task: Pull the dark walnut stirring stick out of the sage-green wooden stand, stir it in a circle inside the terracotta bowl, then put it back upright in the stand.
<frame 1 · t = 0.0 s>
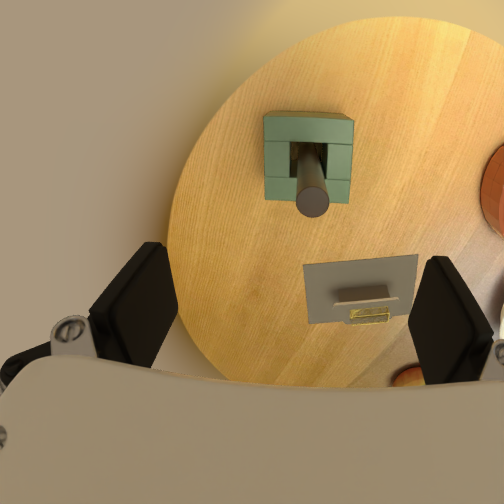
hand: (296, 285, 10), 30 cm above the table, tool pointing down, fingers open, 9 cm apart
apple: (411, 374, 55), on the table
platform: (362, 291, 46), on the table
stick: (308, 165, 28), in the stand
stand: (306, 146, 37), on the table
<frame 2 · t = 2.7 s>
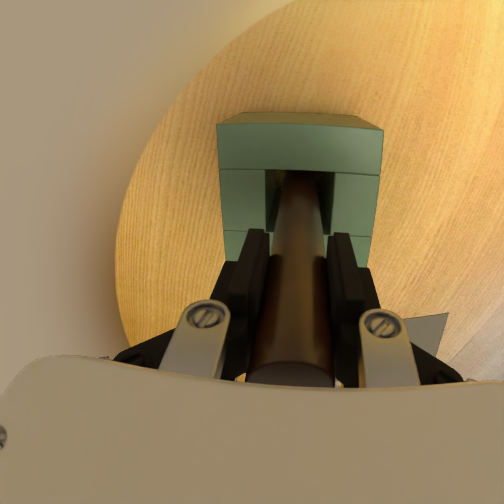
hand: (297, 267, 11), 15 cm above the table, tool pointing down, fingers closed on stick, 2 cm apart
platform: (370, 356, 34), on the table
stick: (299, 217, 15), in the stand, touching gripper
stand: (299, 167, 24), on the table
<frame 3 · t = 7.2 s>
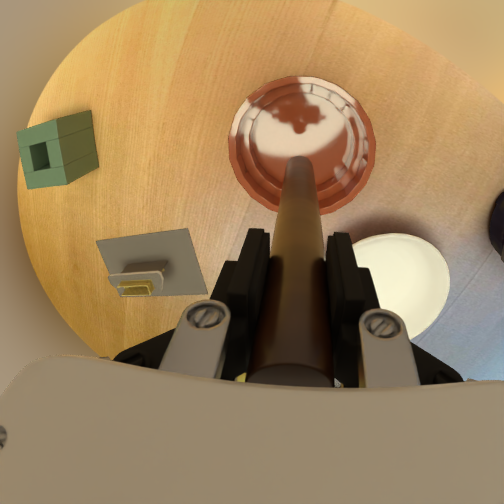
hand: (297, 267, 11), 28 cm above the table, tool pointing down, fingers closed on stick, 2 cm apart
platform: (149, 266, 49), on the table
mixing bowl: (302, 139, 36), on the table
bowl: (376, 273, 44), on the table
stick: (298, 218, 15), point 24 cm above the table, touching gripper
stand: (73, 142, 39), on the table
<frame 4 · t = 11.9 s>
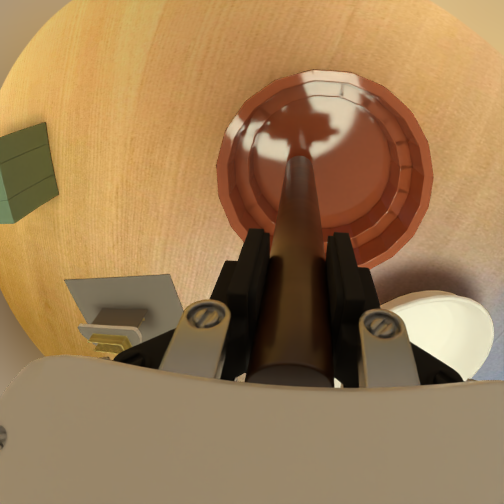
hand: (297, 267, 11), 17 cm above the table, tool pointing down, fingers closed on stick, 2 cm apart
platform: (127, 313, 39), on the table
mixing bowl: (323, 163, 25), on the table
bowl: (404, 327, 33), on the table
stick: (298, 219, 15), point 12 cm above the table, touching gripper
stand: (29, 163, 29), on the table
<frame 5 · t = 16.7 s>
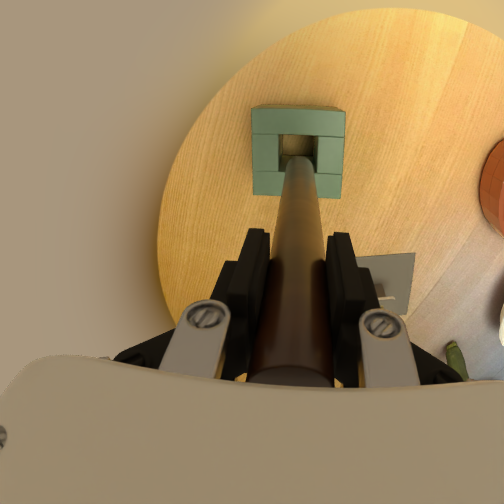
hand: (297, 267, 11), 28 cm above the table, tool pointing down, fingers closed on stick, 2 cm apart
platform: (356, 289, 45), on the table
vegetable: (447, 346, 49), on the table
stick: (298, 220, 15), point 24 cm above the table, touching gripper
stand: (298, 140, 36), on the table
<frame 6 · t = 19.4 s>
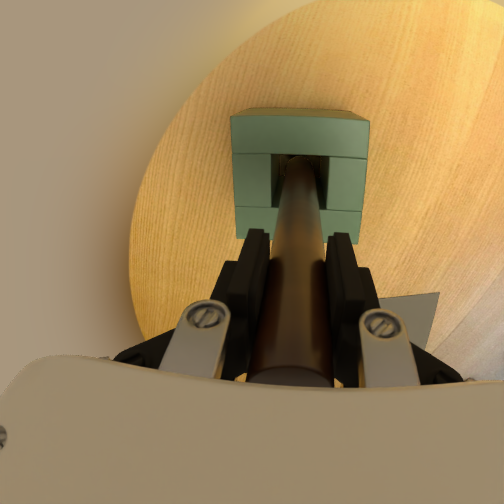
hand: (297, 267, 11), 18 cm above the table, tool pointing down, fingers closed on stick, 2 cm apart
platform: (367, 334, 37), on the table
stick: (298, 220, 15), point 14 cm above the table, touching gripper
stand: (299, 156, 27), on the table
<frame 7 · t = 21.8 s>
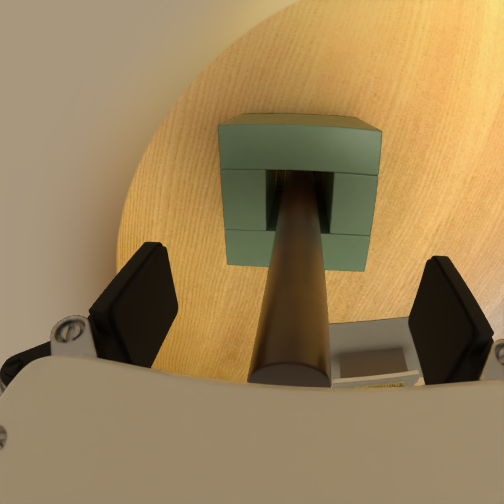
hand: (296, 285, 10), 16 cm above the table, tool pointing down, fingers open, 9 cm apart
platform: (370, 354, 34), on the table
stick: (298, 223, 16), in the stand
stand: (299, 168, 24), on the table
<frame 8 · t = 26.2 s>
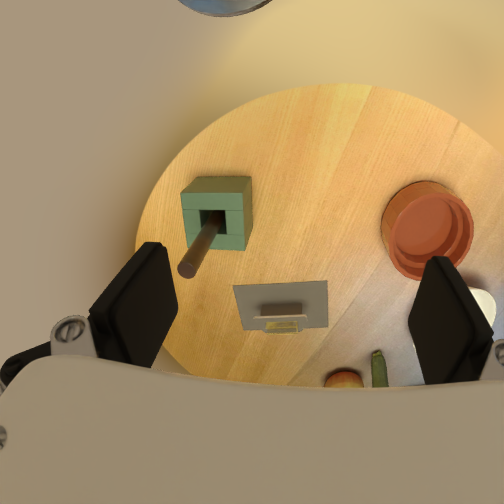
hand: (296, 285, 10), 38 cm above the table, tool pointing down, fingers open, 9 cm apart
apple: (343, 377, 70), on the table
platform: (282, 307, 61), on the table
mixing bowl: (421, 223, 47), on the table
vegetable: (374, 353, 64), on the table
bowl: (447, 308, 55), on the table
stick: (209, 230, 43), in the stand
stand: (225, 202, 51), on the table
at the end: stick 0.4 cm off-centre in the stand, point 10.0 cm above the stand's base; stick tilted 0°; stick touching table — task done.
